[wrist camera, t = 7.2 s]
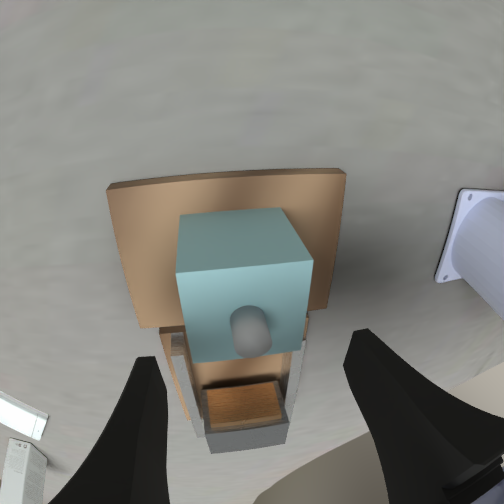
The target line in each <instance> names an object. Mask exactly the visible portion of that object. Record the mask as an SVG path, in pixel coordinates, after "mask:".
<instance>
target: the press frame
mask: <svg viewBox="0 0 504 504" xmlns="http://www.w3.org/2000/svg"><path fill="white" fill-rule="evenodd" d="M345 182H346V173H344V172H343V171H341V170H340V169H339V168H316V169H273V170H250V171H232V172H217V173H204V174H192V175H181V176H171V177H161V178H152V179H143V180H135V181H127V182H120V183H112V184H110V186H109V187H108V188H107V190H106V193H107V199H108V204H109V209H110V214H111V219H112V224H113V228H114V233H115V237H116V242H117V246H118V250H119V254H120V258H121V262H122V266H123V270H124V274H125V278H126V281H127V285H128V289H129V292H130V296H131V299H132V303H133V306H134V309H135V312H136V316H137V319H138V322H139V325H140V328H154V327H161V328H160V330H159V335H160V338H161V342H162V345H163V349H164V352H165V355H166V359H167V362H168V365H169V368H170V371H171V374H172V377H173V380H174V384H175V386H176V389H177V392H178V395H179V398H180V401H181V404H182V407H183V409H184V412H185V415H186V418H187V420H191V421H192V424H193V427H194V430H195V432H196V435H197V438H199V437H206V436H205V431H204V421H203V410H202V399H201V390H205V389H216V388H226V387H234V386H242V385H250V384H257V383H264V382H271V381H278V385H279V388H280V392H281V395H282V398H283V402H284V405H285V409H286V412H287V416H288V419H289V426H290V421H291V417H292V412H293V407H294V402H295V398H296V393H297V388H298V382H299V377H300V372H301V367H302V361H303V356H304V350H305V344H306V339H305V338H306V332H307V326H308V319H309V317H308V315H307V313H306V320H305V326H304V333H303V339H302V345H301V350H298V351H292V352H286V353H279V354H273V355H266V356H259V357H255V358H243V359H234V360H225V361H216V362H205V363H194V364H193V361H192V357H191V352H190V348H189V343H188V338H187V333H186V328H185V326H181V325H185V323H184V318H183V313H182V307H181V302H180V297H179V291H178V285H177V279H176V257H177V244H178V231H179V220H180V215H184V214H195V213H207V212H219V211H232V210H245V209H260V208H275V207H281V209H282V211H283V212H284V214H285V215H286V217H287V218H288V220H289V222H290V223H291V225H292V226H293V228H294V229H295V231H296V233H297V234H298V236H299V237H300V239H301V241H302V242H303V244H304V245H305V247H306V249H307V250H308V252H309V253H310V255H311V257H312V258H313V269H312V276H311V284H310V292H309V299H308V306H307V311H311V310H318V309H325V308H327V303H328V298H329V292H330V287H331V281H332V275H333V269H334V263H335V257H336V251H337V244H338V237H339V230H340V223H341V215H342V208H343V199H344V191H345ZM168 326H174V327H168Z"/></svg>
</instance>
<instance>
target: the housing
mask: <svg viewBox="0 0 504 504" xmlns="http://www.w3.org/2000/svg"><path fill="white" fill-rule="evenodd" d="M312 269H313V258H312V257H311V255H310V253H309V252H308V250H307V249H306V247H305V245H304V244H303V242H302V241H301V239H300V237H299V236H298V234H297V233H296V231H295V229H294V228H293V226H292V225H291V223H290V222H289V220H288V218H287V217H286V215H285V214H284V212H283V211H282V209H281V207H275V208H260V209H245V210H232V211H219V212H207V213H195V214H184V215H180V220H179V231H178V244H177V257H176V279H177V285H178V291H179V297H180V302H181V307H182V313H183V318H184V323H185V328H186V333H187V338H188V343H189V348H190V352H191V357H192V361H193V364H194V363H205V362H216V361H225V360H234V359H243V358H255V357H259V356H266V355H273V354H279V353H286V352H292V351H298V350H301V345H302V339H303V333H304V326H305V320H306V313H307V306H308V299H309V292H310V284H311V276H312Z"/></svg>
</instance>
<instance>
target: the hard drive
mask: <svg viewBox="0 0 504 504" xmlns="http://www.w3.org/2000/svg"><path fill="white" fill-rule="evenodd" d="M47 419H48V414H46V413H44V412H42V411H39V410H37V409H35V408H33V407H31V406H29V405H27V404H25V403H23V402H21V401H19V400H17V399H15V398H13V397H11V396H10V395H8V394H6V393H4V392H2V391H0V422H1V423H2V424H4V425H6V426H8V427H10V428H12V429H14V430H16V431H18V432H21V433H23V434H25V435H27V436H29V437H32V438H34V439H36V440H39V441H40V438H41V435H42V433H43V430H44V427H45V424H46V422H47Z"/></svg>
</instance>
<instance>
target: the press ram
mask: <svg viewBox="0 0 504 504" xmlns="http://www.w3.org/2000/svg"><path fill="white" fill-rule="evenodd" d="M201 399H202V410H203V421H204V431H205V436H206V439H207V443H208V446H209V449H210V452H211V454H213V453H224V452H233V451H241V450H249V449H256V448H262V447H268V446H274V445H280V444H285V441H286V437H287V432H288V428H289V419H288V416H287V412H286V409H285V405H284V402H283V398H282V395H281V392H280V388H279V385H278V381H271V382H264V383H257V384H250V385H242V386H234V387H226V388H216V389H205V390H201Z"/></svg>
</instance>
